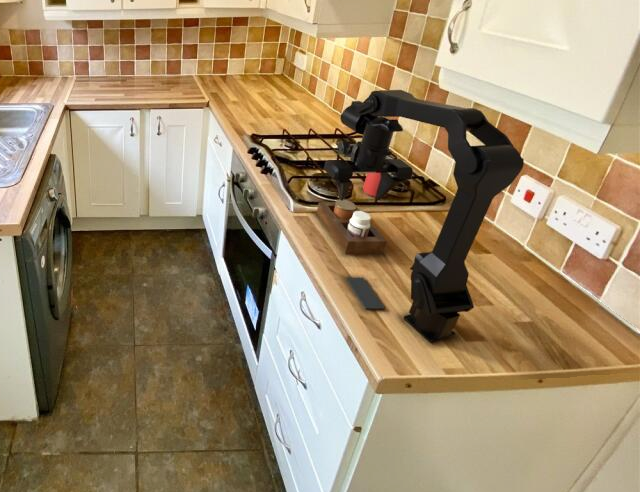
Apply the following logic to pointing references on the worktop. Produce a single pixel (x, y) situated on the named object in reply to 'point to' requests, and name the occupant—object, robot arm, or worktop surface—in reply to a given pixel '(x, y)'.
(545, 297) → the worktop surface
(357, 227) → the pill bottle
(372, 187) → the beer can
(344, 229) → the pod stand
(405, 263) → the worktop surface
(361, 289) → the slate mat
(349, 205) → the orange brown jar
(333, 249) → the worktop surface
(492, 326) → the worktop surface
